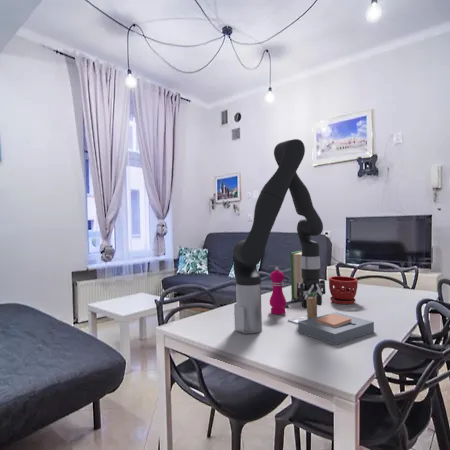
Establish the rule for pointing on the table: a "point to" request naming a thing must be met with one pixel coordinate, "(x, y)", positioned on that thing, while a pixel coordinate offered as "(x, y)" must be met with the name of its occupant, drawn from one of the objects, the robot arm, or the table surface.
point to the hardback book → (296, 273)
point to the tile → (333, 320)
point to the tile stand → (336, 329)
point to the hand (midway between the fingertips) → (311, 306)
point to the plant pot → (343, 289)
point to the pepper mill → (277, 293)
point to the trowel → (308, 311)
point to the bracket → (292, 302)
